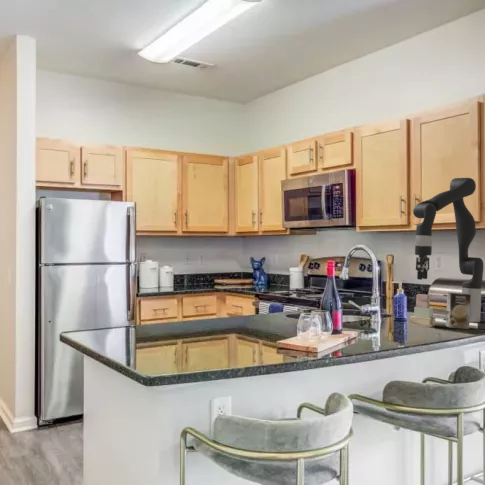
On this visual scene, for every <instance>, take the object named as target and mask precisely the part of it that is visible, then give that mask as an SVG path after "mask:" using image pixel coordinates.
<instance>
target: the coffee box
mask: <svg viewBox="0 0 485 485" xmlns="http://www.w3.org/2000/svg"><path fill="white" fill-rule="evenodd" d="M446 298H447V299H446V315H445V326H446V327H447V328H449V329H464V330H465V329H466V330H468V329H470V322H469V319H470V298H471V295H470V294H462V292H461V293H458V292H447V297H446Z"/></svg>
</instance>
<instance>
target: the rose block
mask: <svg viewBox="0 0 485 485" xmlns="http://www.w3.org/2000/svg"><path fill="white" fill-rule="evenodd" d="M430 298H431V295H430V294H425V293H424V294H421V293H418V294H416V299H415V307H419V308H429V307H430V301H431V300H430Z"/></svg>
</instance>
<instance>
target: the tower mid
mask: <svg viewBox="0 0 485 485" xmlns="http://www.w3.org/2000/svg"><path fill="white" fill-rule="evenodd" d="M413 309H414V310H413V314H414V315H413V316H414V317H423V318H431V317H434V307H432V306H429V308H419V307H416V306H414V307H413Z"/></svg>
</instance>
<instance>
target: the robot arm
mask: <svg viewBox="0 0 485 485" xmlns="http://www.w3.org/2000/svg"><path fill="white" fill-rule="evenodd" d="M476 188H477V185H476V181H475V180H474V179H473V178H471V177H454V178H452V179H451V181H450V183H449V190H446V191H442V192H440V193H438V194H436V195H434V196H433V197H431V198H429V199H426V200H424V201H421V202H418V203H417V204H416V205H414V208H413V209H412V210H413V211H412V212H413V215H414V217H415V218H417V219H423V220H422V222H420V223H417V225H416V227H415V228H416V229H415V230H416V231H415V232H416V233H415V240H414V241H415V243H414V245H415V246H414V255H416V257H415V258H416V259H415V260H416V261H415V271H417V272H416V273H417V274H416V275H417V276H416V278H417V280H427V279H428V273H429V271H430V257H428V256H432V250H433V249H432V246H433V239H432V234H433V233H432V231H433V225H434V221H435V219H436V215H437V212H439V211H441V210H443V209H444V208H446V207H447V206H448V205H451V204H452V205H453V212H454V219H455V229H456V236H457V244H458V266H459V271H460V273H461V274H462V275H464V276H465V275H466V276H467V275H468V276H472V277H471V278H470V279H469V280H466V281H463V282H462V283H461V287H462V288H461V294H470V295H471V298H470V319H469V323H480V322H481V307H482V306H481V305H482V304H481V303H482V285H483V277H484V276H483V275H484V261H483V259H482V258H481V257H472V256H471V257H469V248H470V245H471V244H472V242H473V240H474V238H475V237H476V233H477V230H476V227H477V226H476V220H475V218H474V216H473V214H472V213H471V212H470V210H469V209H468V208H467V206H466V204H465V201H464V198H466V197H469V196H472V195H473V194H474V193H475V191H476ZM417 256H418V257H417Z"/></svg>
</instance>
